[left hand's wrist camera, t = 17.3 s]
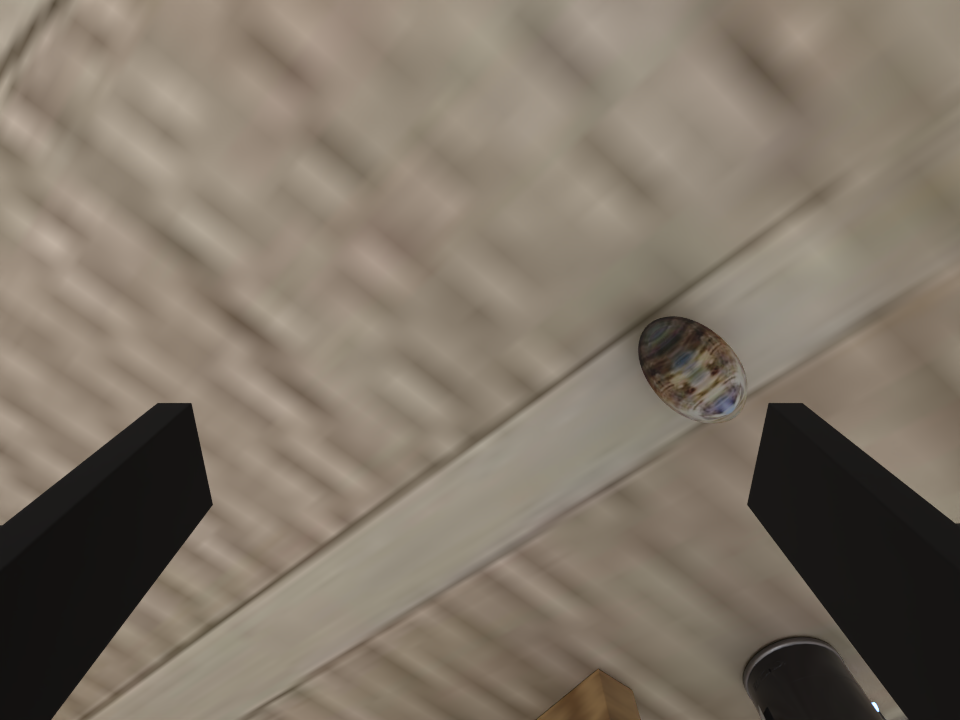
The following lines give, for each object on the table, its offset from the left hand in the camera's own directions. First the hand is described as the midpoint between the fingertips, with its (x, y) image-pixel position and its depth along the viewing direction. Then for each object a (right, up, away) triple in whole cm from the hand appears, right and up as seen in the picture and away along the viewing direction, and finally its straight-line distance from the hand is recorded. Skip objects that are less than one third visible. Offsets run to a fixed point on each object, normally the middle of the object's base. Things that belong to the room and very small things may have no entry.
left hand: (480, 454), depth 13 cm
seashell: (+15, +3, +29) cm, 32 cm away
